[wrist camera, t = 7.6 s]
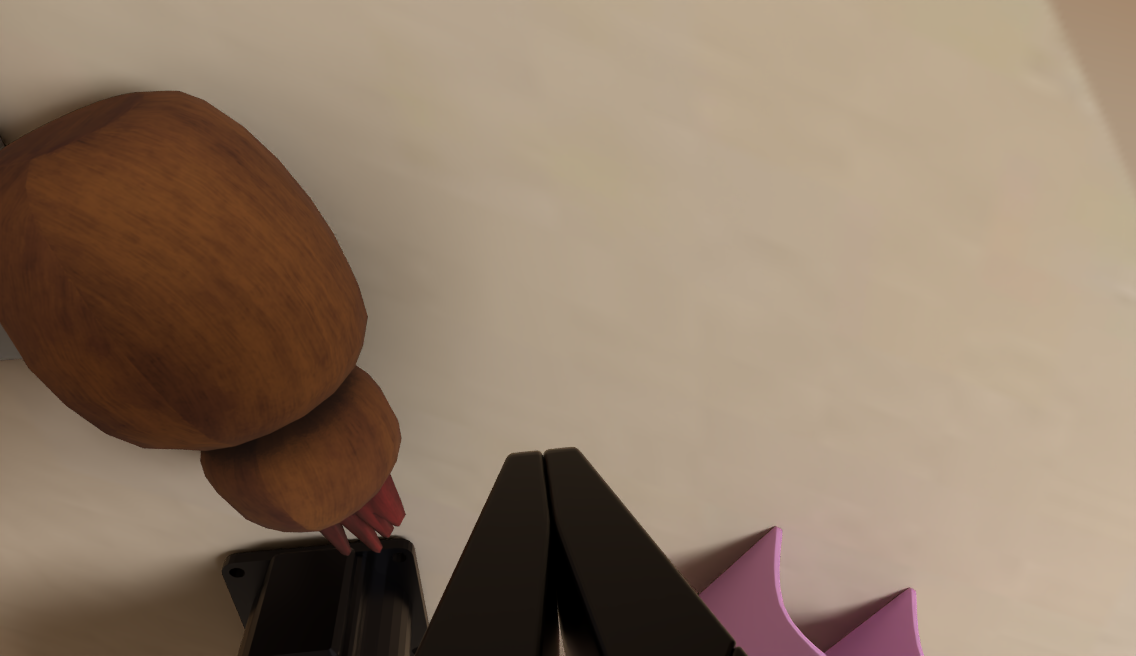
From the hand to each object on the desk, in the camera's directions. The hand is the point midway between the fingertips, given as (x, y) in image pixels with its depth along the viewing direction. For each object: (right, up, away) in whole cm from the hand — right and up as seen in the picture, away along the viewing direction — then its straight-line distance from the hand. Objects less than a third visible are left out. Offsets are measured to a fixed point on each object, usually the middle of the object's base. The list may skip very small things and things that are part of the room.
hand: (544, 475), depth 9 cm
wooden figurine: (-10, +6, +5) cm, 13 cm away
